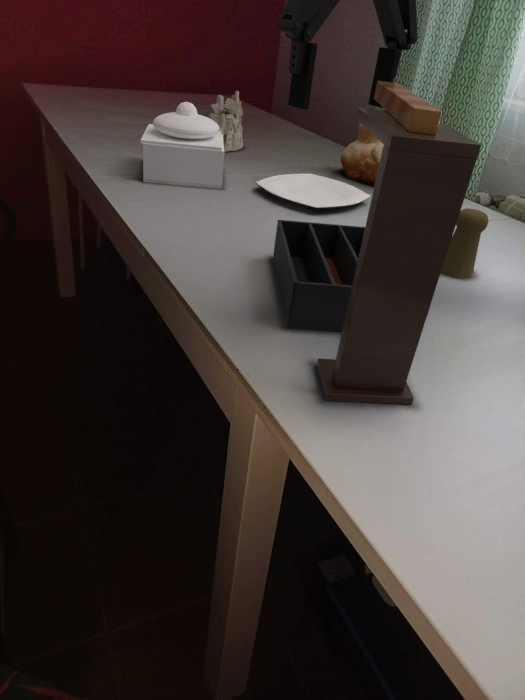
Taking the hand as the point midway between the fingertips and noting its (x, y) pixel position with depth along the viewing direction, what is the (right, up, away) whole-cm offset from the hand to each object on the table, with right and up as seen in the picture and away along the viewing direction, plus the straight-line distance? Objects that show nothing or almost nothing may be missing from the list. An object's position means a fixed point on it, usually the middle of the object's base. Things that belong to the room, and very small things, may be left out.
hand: (340, 107), depth 65 cm
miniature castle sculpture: (-23, +31, +92) cm, 100 cm away
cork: (+25, -16, +31) cm, 43 cm away
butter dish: (-28, +12, +63) cm, 70 cm away
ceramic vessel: (+22, +15, +77) cm, 81 cm away
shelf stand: (+2, -31, +2) cm, 31 cm away
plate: (+2, +6, +59) cm, 59 cm away
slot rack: (+1, -21, +18) cm, 27 cm away
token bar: (+5, -5, -9) cm, 11 cm away
